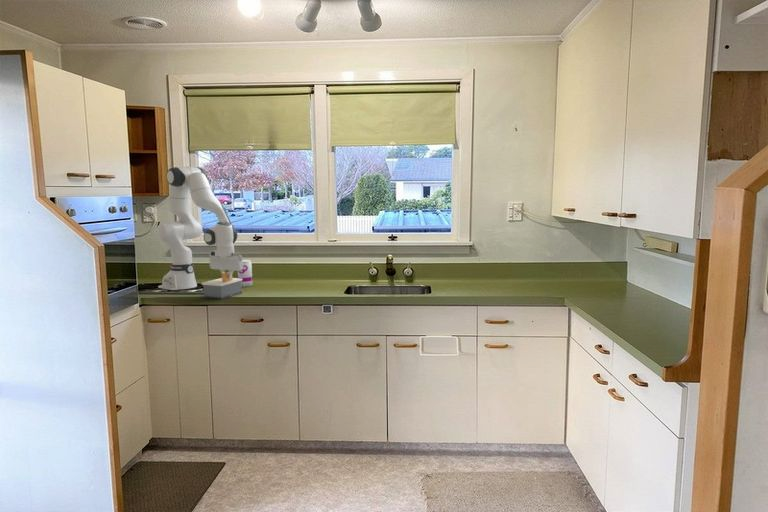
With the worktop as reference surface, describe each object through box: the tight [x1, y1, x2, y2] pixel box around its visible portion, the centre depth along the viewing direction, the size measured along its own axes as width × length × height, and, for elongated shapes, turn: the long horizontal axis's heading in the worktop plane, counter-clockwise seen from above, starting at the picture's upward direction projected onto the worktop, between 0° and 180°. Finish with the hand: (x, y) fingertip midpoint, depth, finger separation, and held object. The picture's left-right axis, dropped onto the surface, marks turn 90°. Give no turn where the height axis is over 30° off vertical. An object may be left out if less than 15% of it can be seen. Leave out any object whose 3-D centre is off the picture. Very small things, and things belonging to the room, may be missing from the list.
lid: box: [201, 271, 242, 286], centre depth 268 cm, size 13×17×6 cm
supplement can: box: [237, 259, 254, 288], centre depth 294 cm, size 8×8×15 cm
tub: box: [202, 281, 243, 300], centre depth 268 cm, size 12×16×7 cm
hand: (227, 278), depth 266 cm, fingers closed on lid
